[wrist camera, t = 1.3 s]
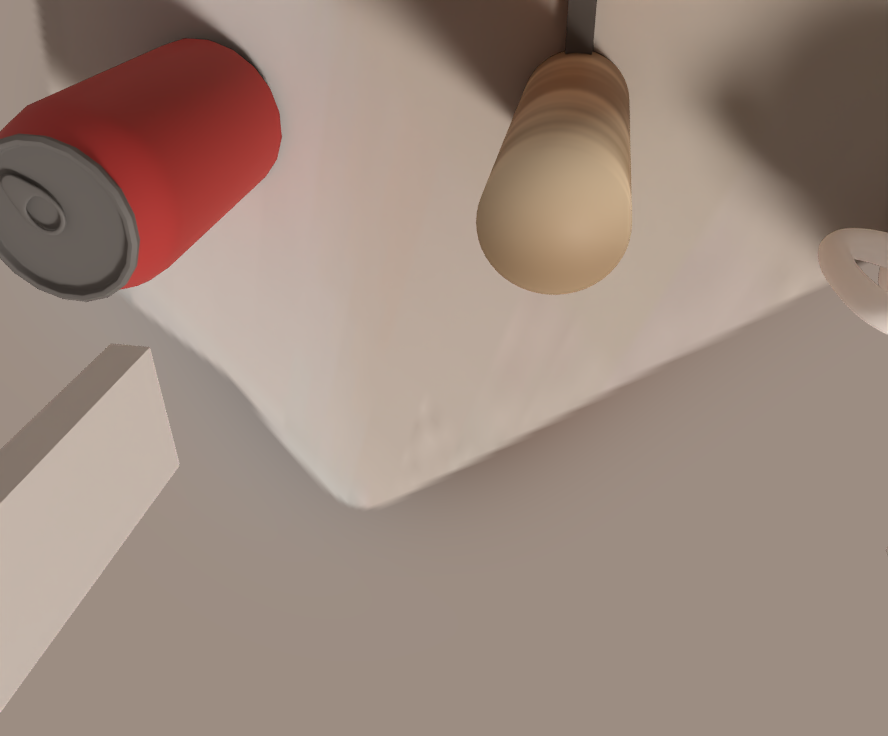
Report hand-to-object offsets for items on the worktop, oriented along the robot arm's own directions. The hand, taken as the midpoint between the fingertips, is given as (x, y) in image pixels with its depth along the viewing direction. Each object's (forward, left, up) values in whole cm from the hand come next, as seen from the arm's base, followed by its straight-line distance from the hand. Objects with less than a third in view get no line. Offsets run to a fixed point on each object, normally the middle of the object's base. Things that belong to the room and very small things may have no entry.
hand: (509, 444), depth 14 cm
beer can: (+1, -15, -22) cm, 27 cm away
